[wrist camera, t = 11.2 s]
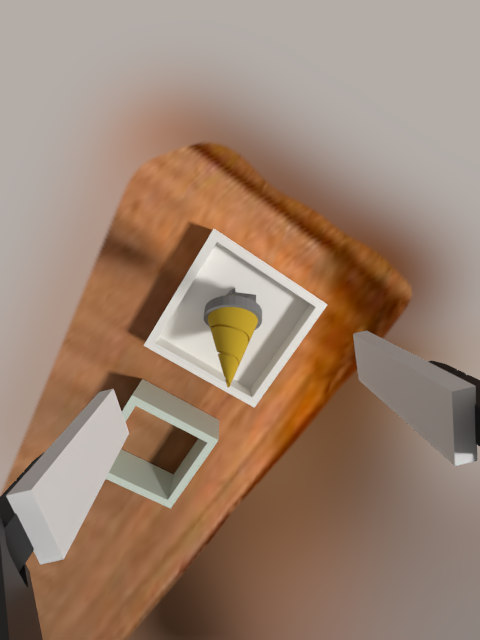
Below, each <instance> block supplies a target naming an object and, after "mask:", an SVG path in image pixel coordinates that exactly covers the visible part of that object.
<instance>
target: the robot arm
mask: <svg viewBox="0 0 480 640" xmlns="http://www.w3.org/2000/svg"><path fill="white" fill-rule="evenodd" d="M353 338H354V346H355V354H356V362H357V370H358V377H359V381H361V382H362V383H363V384H364V385H365V386H366V387H367V388H368V389H369V390H371V391H372V392H373V393H374V394H375V395H376V396H377V397H378V398H380V399H381V400H382V401H383V402H384V403H385V404H386V405H387V406H389V407H390V408H391V409H392V410H393V411H394V412H395V413H396V414H397V415H399V416H400V417H401V418H402V419H403V420H404V421H405V422H407V423H408V424H409V425H410V426H411V427H412V428H413V429H414V430H415V431H417V432H418V433H419V434H420V435H421V436H422V437H423V438H425V439H426V440H427V441H428V442H429V443H430V444H431V445H432V446H433V447H434V448H436V449H437V450H438V451H439V452H440V453H441V454H442V455H443V456H444V457H446V458H447V459H448V460H449V461H450V462H451V463H452V464H453V465H455V466H457V465H461V464H465V463H469V462H473V461H477V445H479V446H480V380H478V379H476V378H474V377H472V376H469V375H466V374H465V373H463V372H461V371H459V370H458V371H457V369H455V368H453V367H450V366H448V365H446V364H443V363H439V362H435V361H428V362H427V361H425V360H423V359H422V358H420V357H418V356H416V355H414V354H412V353H410V352H408V351H406V350H404V349H402V348H400V347H398V346H396V345H394V344H392V343H390V342H388V341H386V340H384V339H382V338H380V337H378V336H376V335H374V334H372V333H370V332H368V331H363V332H359V333H355V334H353ZM128 434H129V431H128V428H127V426H126V423H125V420H124V417H123V414H122V411H121V408H120V406H119V403H118V400H117V397H116V394H115V391H114V389H109V390H105V391H101V392H99V393H98V394H97V395H96V396H95V397H94V398H93V399H92V401H91V402H90V403H89V404H88V405H87V406H86V407H85V408H84V409H83V411H82V412H81V413H80V414H79V415H78V416H77V417H76V418H75V419H74V421H73V422H72V423H71V424H70V425H69V426H68V427H67V428H66V429H65V431H64V432H63V433H62V434H61V435H60V436H59V437H58V438H57V439H56V441H55V442H54V443H53V444H52V445H51V446H50V447H49V448H48V449H47V451H46V452H44V453H43V454H42V455H40V456H39V457H38V458H36V459H35V460H34V461H33V462H32V463H31V464H30V465H29V466H28V467H27V468H26V469H25V472H23V473H22V474H21V475H20V476H19V477H18V478H17V481H14V483H13V484H12V485H11V486H10V487H9V488H8V489H7V490H6V491H5V492H4V493H3V495H2V496H1V497H0V640H43V639H42V634H41V629H40V624H39V619H38V613H37V608H36V603H35V598H34V593H33V588H32V582H31V577H30V572H29V570H28V568H27V566H26V564H25V563H26V561H27V560H28V558H29V556H30V555H31V553H32V552H33V551H34V553H35V555H36V557H37V559H38V561H39V563H40V565H41V564H45V563H49V562H54V561H58V560H62V559H64V558H65V556H66V554H67V552H68V550H69V548H70V546H71V544H72V542H73V540H74V538H75V537H76V535H77V533H78V531H79V529H80V527H81V525H82V523H83V521H84V519H85V517H86V515H87V513H88V511H89V510H90V508H91V506H92V504H93V502H94V500H95V498H96V496H97V494H98V492H99V490H100V488H101V486H102V485H103V483H104V481H105V479H106V477H107V475H108V473H109V471H110V469H111V467H112V465H113V463H114V461H115V459H116V458H117V456H118V454H119V452H120V450H121V448H122V446H123V444H124V442H125V440H126V438H127V436H128Z"/></svg>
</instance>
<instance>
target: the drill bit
mask: <svg viewBox="0 0 480 640" xmlns="http://www.w3.org/2000/svg"><path fill="white" fill-rule="evenodd" d="M204 322H205V323H206V324H207V325H208V326H209V327H210V329H211V333H212V336H213V340H214V343H215V347H216V350H217V352H219V354H218V357H219V360H220V364H221V367H222V371H223V374H224V377H225V378H226V379H225V381H226V384H227V387H230V385H231V382H232V380H233V378H234V376H235V373H236V371H237V369H238V366H239V364H240V362H241V360H242V358H243V355H244V353H245V351H246V348H247V346H248V344H249V342H250V339H251V337H252V335H253V333H254V330H256V329H257V328H259V327H260V325H261V323H262V309H261V307H260V305H258V304H257V303H256V295H254V294H246V293H238V292H236V291H235V288H234V289H233V290H231V291H230V292H229V293H228V294H226V295H225V296H220V297H216V298H214V299H212V300H210V301H209V302H208V303H207V304H206V306H205V311H204Z"/></svg>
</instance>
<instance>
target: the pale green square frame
mask: <svg viewBox="0 0 480 640" xmlns="http://www.w3.org/2000/svg"><path fill="white" fill-rule="evenodd" d="M135 406H137V407H139V408H141V409H143V410H145V411H147V412H149V413H151V414H153V415H155V416H157V417H159V418H161V419H163V420H164V421H166V422H168V423H170V424H172V425H174V426H176V427H178V428H180V429H182V430H184V431H186V432H188V433H190V434H192V435H194V436H195V437H197V438H198V440H197V441H196V443H195V444H194V445H193V447H192V448H191V450H190V451H189V453H188V454H187V456H186V457H185V459H184V460H183V461H182V463H181V464H180V466H179V467H178V469H177V470H176V472H175V473H174V474H172V473H169V472H167V471H165V470H163V469H161V468H159V467H157V466H155V465H153V464H151V463H149V462H147V461H145V460H143V459H140V458H138V457H136V456H134V455H132V454H130V453H128V452H126V451H124V450H122V449H121V450H120V452H119V454H118V456H117V458H116V459H115V461H114V463H113V465H112V467H111V469H110V471H109V473H108V475H107V477H106V479H107V480H109V481H112V482H114V483H116V484H118V485H120V486H123V487H125V488H127V489H129V490H131V491H133V492H136V493H138V494H140V495H142V496H144V497H147V498H149V499H151V500H153V501H155V502H157V503H160V504H162V505H164V506H166V507H168V508H171V507H172V506H173V504H174V503H175V502H176V500H177V499H178V497H179V496H180V494H181V493H182V492H183V490H184V489H185V487H186V486H187V484H188V483H189V482H190V480H191V479H192V477H193V476H194V474H195V473H196V472H197V470H198V469H199V467H200V466H201V465H202V463H203V462H204V460H205V459H206V457H207V456H208V455H209V453H210V452H211V450H212V449H213V447H214V446H215V445H216V443H217V442H218V440H219V420H218V419H216V418H214V417H212V416H211V415H209V414H207V413H205V412H203V411H201V410H199V409H198V408H196V407H194V406H192V405H190V404H188V403H186V402H184V401H183V400H181V399H179V398H177V397H175V396H173V395H171V394H170V393H168V392H166V391H164V390H162V389H160V388H158V387H157V386H155V385H153V384H151V383H149V382H147V381H145V380H143V379H142V381H141V382H140V384H139V385H138V387H137V388H136V390H135V391H134V393H133V394H132V396H131V398H130V399H129V401H128V402H127V404H126V406H125V407H124V409H123V411H122V414H123V417H124V420H125V422H126V420H127V419H128V417H129V415H130V414H131V412H132V411H133V409H134V407H135Z"/></svg>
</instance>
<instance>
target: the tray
mask: <svg viewBox="0 0 480 640" xmlns="http://www.w3.org/2000/svg"><path fill="white" fill-rule="evenodd" d="M234 288H235V291H236V292H238V293H246V294H254V295H256V303H257V304H258V305H260V307H261V309H262V323H261V325H260V327H259V328H257V329H256V330H254V333H253V335H252V337H251V339H250V342H249V344H248V346H247V348H246V351H245V353H244V355H243V358H242V360H241V362H240V364H239V366H238V369H237V371H236V373H235V376H234V378H233V380H232V382H231V385H230V387H227V384H226V381H225V379H226V378H225V377H224V374H223V371H222V367H221V364H220V360H219V357H218V354H219V352H217V350H216V347H215V343H214V340H213V336H212V333H211V329H210V327H209V326H208V325H207V324H206V323H205V322H204V311H205V306H206V304H207V303H208V302H209V301H210V300H212V299H214V298H216V297H220V296H225V295H226V294H228V293H229V292H230V291H231V290H233V289H234ZM326 306H327V304H326V303H324V302H323V301H321V300H320V299H318V298H317V297H315V296H314V295H312V294H311V293H309V292H308V291H306V290H305V289H303V288H302V287H300V286H299V285H297V284H296V283H295V282H293V281H292V280H290V279H289V278H287V277H286V276H284V275H283V274H281V273H280V272H278V271H277V270H275V269H274V268H272V267H271V266H269V265H268V264H266V263H265V262H263V261H262V260H260V259H259V258H257V257H256V256H254V255H253V254H251V253H250V252H248V251H247V250H245V249H244V248H242V247H241V246H239V245H238V244H236V243H235V242H233V241H232V240H230V239H229V238H227V237H226V236H224V235H223V234H221V233H220V232H218V231H217V230H215V229H213V231H212V232H211V234H210V236H209V237H208V239H207V241H206V242H205V244H204V246H203V247H202V249H201V251H200V252H199V254H198V256H197V257H196V259H195V261H194V262H193V264H192V266H191V267H190V269H189V271H188V272H187V274H186V276H185V277H184V279H183V281H182V282H181V284H180V286H179V287H178V289H177V291H176V292H175V294H174V296H173V297H172V299H171V301H170V302H169V304H168V306H167V307H166V309H165V311H164V312H163V314H162V316H161V317H160V319H159V321H158V322H157V324H156V326H155V327H154V329H153V331H152V332H151V334H150V336H149V337H148V339H147V341H146V342H145V344H144V346H145V347H147V348H149V349H151V350H152V351H154V352H156V353H158V354H160V355H161V356H163V357H165V358H167V359H168V360H170V361H172V362H174V363H176V364H177V365H179V366H181V367H183V368H185V369H186V370H188V371H190V372H192V373H193V374H195V375H197V376H199V377H201V378H202V379H204V380H206V381H208V382H210V383H211V384H213V385H215V386H217V387H219V388H220V389H222V390H224V391H226V392H227V393H229V394H231V395H233V396H235V397H236V398H238V399H240V400H242V401H244V402H245V403H247V404H249V405H251V406H252V407H255V406H256V405H257V403H258V402H259V400H260V399H261V398H262V396H263V395H264V393H265V392H266V390H267V389H268V388H269V386H270V385H271V383H272V382H273V381H274V379H275V378H276V376H277V375H278V374H279V372H280V371H281V369H282V368H283V367H284V365H285V364H286V362H287V361H288V360H289V358H290V357H291V355H292V354H293V353H294V351H295V350H296V348H297V347H298V346H299V344H300V343H301V341H302V340H303V339H304V337H305V336H306V334H307V333H308V331H309V330H310V329H311V327H312V326H313V324H314V323H315V322H316V320H317V319H318V317H319V316H320V315H321V313H322V312H323V310H324V309H325V308H326Z"/></svg>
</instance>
